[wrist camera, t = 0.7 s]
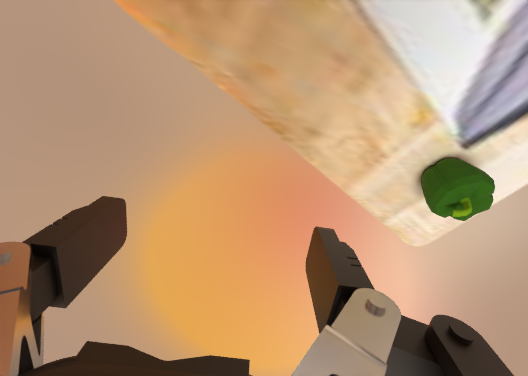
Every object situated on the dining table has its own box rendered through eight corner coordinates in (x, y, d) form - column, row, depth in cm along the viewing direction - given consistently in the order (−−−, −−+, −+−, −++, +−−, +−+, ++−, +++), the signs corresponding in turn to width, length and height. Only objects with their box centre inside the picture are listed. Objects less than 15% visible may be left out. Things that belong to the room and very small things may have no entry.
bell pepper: (482, 155, 41) (528, 196, 33) (449, 194, 46) (483, 238, 38) (431, 145, 40) (466, 185, 33) (404, 186, 45) (429, 228, 38)
